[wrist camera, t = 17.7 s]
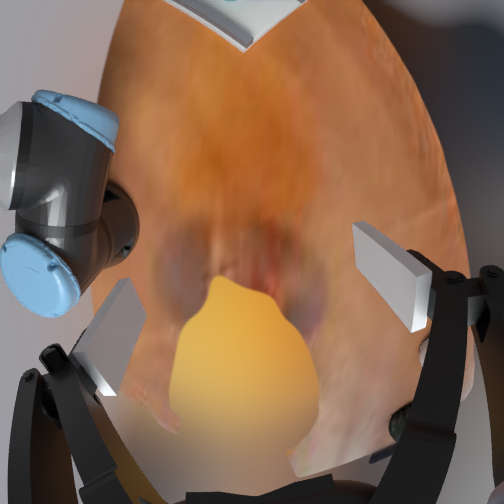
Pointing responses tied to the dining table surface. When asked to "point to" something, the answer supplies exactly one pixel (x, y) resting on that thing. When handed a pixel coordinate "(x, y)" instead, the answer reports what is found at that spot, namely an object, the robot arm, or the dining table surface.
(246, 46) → the rail board
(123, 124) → the dining table surface
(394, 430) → the squash
